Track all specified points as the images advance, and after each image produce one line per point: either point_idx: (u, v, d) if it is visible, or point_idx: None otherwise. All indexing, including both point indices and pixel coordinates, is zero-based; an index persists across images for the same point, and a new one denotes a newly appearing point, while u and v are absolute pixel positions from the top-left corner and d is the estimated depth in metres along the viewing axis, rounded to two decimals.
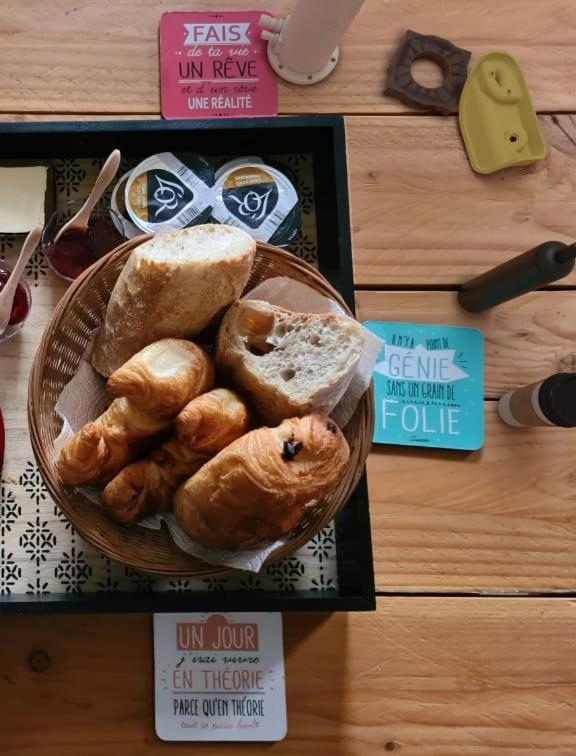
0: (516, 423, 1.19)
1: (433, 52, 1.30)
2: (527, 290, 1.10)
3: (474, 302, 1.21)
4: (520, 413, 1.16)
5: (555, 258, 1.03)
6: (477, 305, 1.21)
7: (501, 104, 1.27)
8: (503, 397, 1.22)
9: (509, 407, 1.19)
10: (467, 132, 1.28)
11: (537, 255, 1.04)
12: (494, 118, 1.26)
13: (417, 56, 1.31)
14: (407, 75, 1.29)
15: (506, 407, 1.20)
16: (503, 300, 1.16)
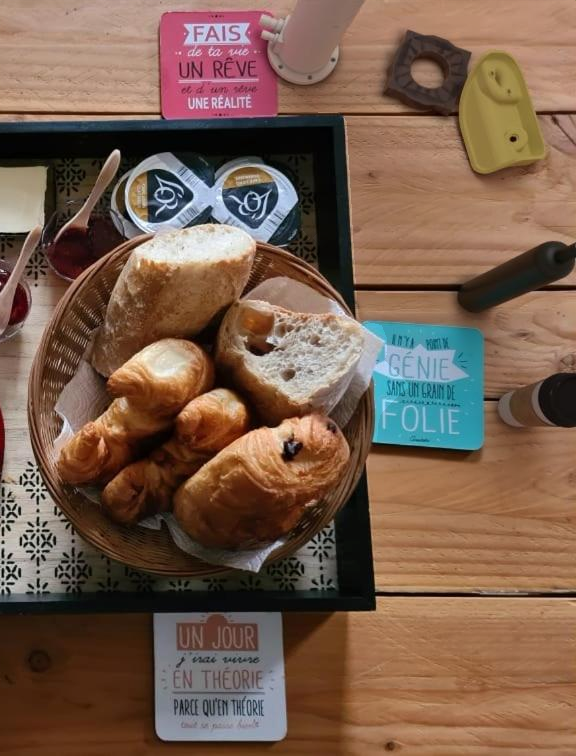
0: (516, 423, 1.19)
1: (433, 52, 1.30)
2: (527, 290, 1.10)
3: (474, 302, 1.21)
4: (520, 413, 1.16)
5: (555, 258, 1.03)
6: (477, 305, 1.21)
7: (501, 104, 1.27)
8: (503, 397, 1.22)
9: (509, 407, 1.19)
10: (467, 132, 1.28)
11: (537, 255, 1.04)
12: (494, 118, 1.26)
13: (417, 56, 1.31)
14: (407, 75, 1.29)
15: (506, 407, 1.20)
16: (503, 300, 1.16)
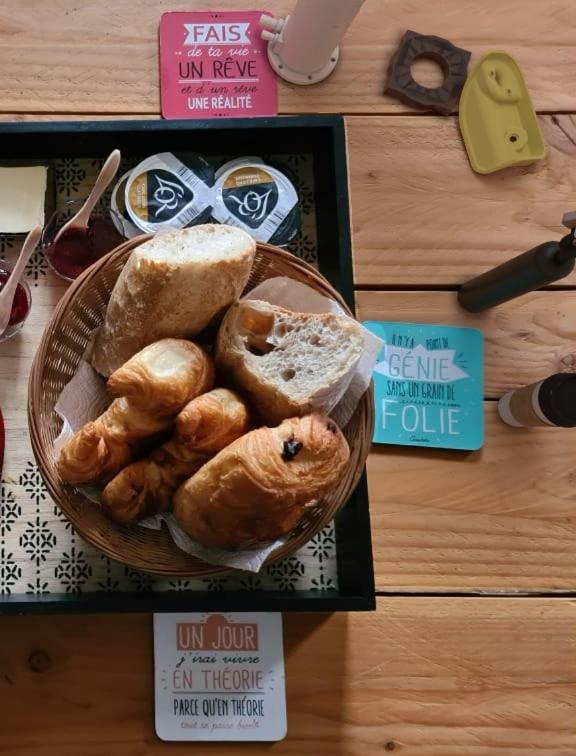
0: (516, 423, 1.19)
1: (433, 52, 1.30)
2: (527, 290, 1.10)
3: (474, 302, 1.21)
4: (520, 413, 1.16)
5: (555, 258, 1.03)
6: (477, 305, 1.21)
7: (501, 104, 1.27)
8: (503, 397, 1.22)
9: (509, 407, 1.19)
10: (467, 132, 1.28)
11: (537, 255, 1.04)
12: (494, 118, 1.26)
13: (417, 56, 1.31)
14: (407, 75, 1.29)
15: (506, 407, 1.20)
16: (503, 300, 1.16)
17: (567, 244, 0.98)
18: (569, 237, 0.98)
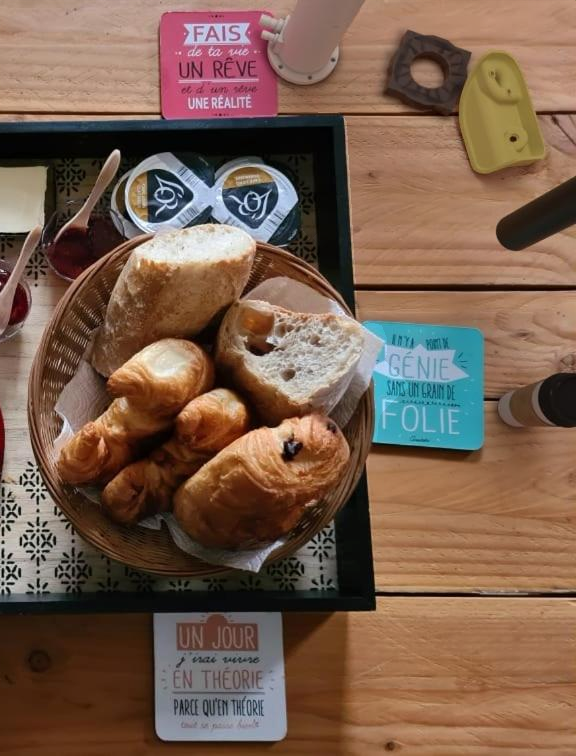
0: (516, 423, 1.19)
1: (433, 52, 1.30)
2: None
3: (515, 237, 1.08)
4: (520, 413, 1.16)
5: None
6: (519, 240, 1.08)
7: (501, 104, 1.27)
8: (503, 397, 1.22)
9: (509, 407, 1.19)
10: (467, 132, 1.28)
11: None
12: (494, 118, 1.26)
13: (417, 56, 1.31)
14: (407, 75, 1.29)
15: (506, 407, 1.20)
16: (550, 232, 1.03)
17: None
18: None
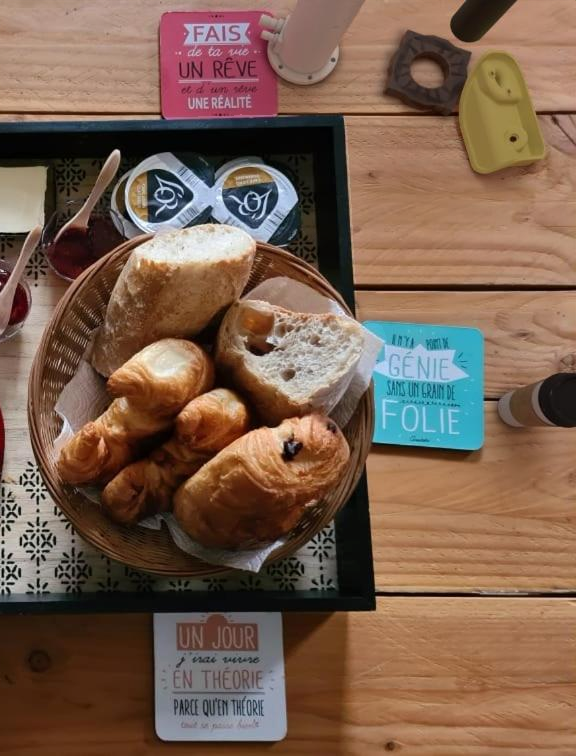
0: (516, 423, 1.19)
1: (433, 52, 1.30)
2: None
3: (467, 22, 1.13)
4: (520, 413, 1.16)
5: None
6: (471, 25, 1.13)
7: (501, 104, 1.27)
8: (503, 397, 1.22)
9: (509, 407, 1.19)
10: (467, 132, 1.28)
11: None
12: (494, 118, 1.26)
13: (417, 56, 1.31)
14: (407, 75, 1.29)
15: (506, 407, 1.20)
16: (499, 7, 1.08)
17: None
18: None
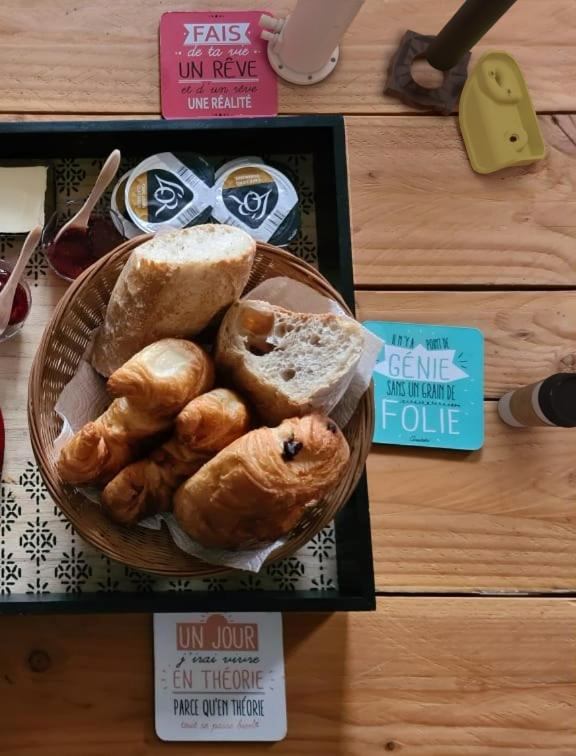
0: (516, 423, 1.19)
1: None
2: (491, 16, 1.10)
3: (441, 53, 1.21)
4: (520, 413, 1.16)
5: None
6: (444, 56, 1.21)
7: (501, 104, 1.27)
8: (503, 397, 1.22)
9: (509, 407, 1.19)
10: (467, 132, 1.28)
11: None
12: (494, 118, 1.26)
13: (417, 56, 1.31)
14: (407, 75, 1.29)
15: (506, 407, 1.20)
16: (469, 40, 1.16)
17: None
18: None
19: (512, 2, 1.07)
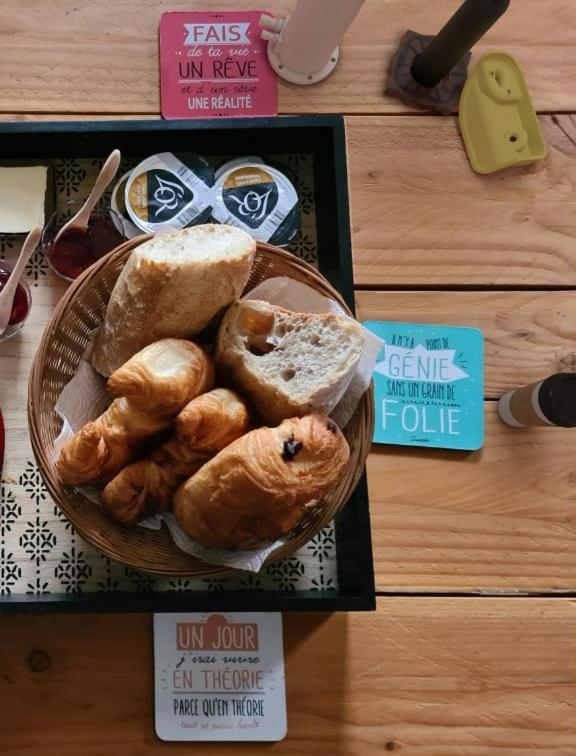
0: (516, 423, 1.19)
1: None
2: (468, 40, 1.16)
3: (422, 73, 1.27)
4: (520, 413, 1.16)
5: None
6: (426, 76, 1.27)
7: (501, 104, 1.27)
8: (503, 397, 1.22)
9: (509, 407, 1.19)
10: (467, 132, 1.28)
11: None
12: (494, 118, 1.26)
13: (417, 56, 1.31)
14: (407, 75, 1.29)
15: (506, 407, 1.20)
16: (448, 62, 1.22)
17: None
18: None
19: (487, 28, 1.13)
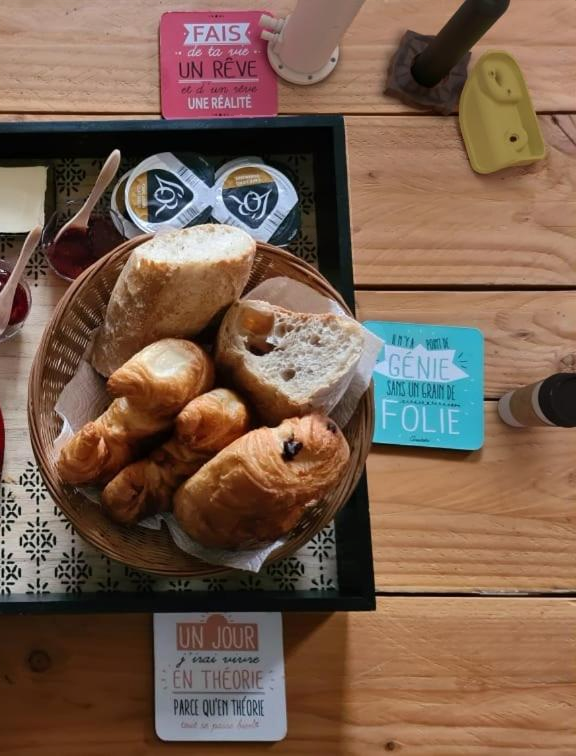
0: (516, 423, 1.19)
1: None
2: (468, 40, 1.16)
3: (422, 73, 1.27)
4: (520, 413, 1.16)
5: None
6: (426, 76, 1.27)
7: (501, 104, 1.27)
8: (503, 397, 1.22)
9: (509, 407, 1.19)
10: (467, 132, 1.28)
11: None
12: (494, 118, 1.26)
13: (417, 56, 1.31)
14: (407, 75, 1.29)
15: (506, 407, 1.20)
16: (448, 62, 1.22)
17: None
18: None
19: (487, 28, 1.13)
